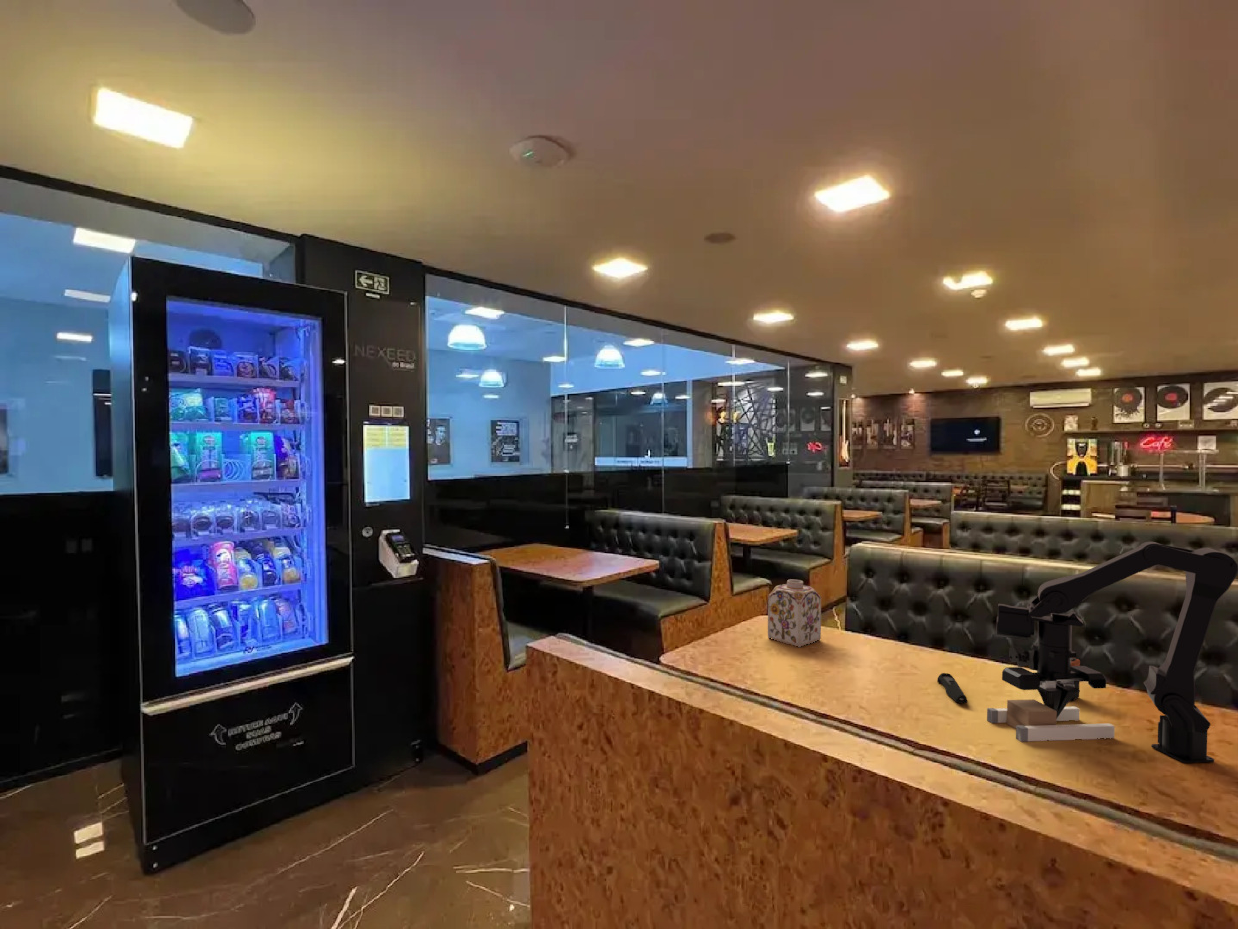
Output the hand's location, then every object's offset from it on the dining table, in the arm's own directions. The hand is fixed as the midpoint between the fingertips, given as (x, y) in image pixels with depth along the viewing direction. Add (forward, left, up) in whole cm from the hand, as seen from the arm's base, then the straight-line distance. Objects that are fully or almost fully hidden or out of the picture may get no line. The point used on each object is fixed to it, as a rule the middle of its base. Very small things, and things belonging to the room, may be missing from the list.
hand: (1052, 718), depth 127 cm
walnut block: (0, +5, -2) cm, 5 cm away
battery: (+17, -16, -2) cm, 24 cm away
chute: (0, +1, -2) cm, 2 cm away
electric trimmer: (+20, +8, -3) cm, 22 cm away
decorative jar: (+63, +31, -2) cm, 70 cm away
